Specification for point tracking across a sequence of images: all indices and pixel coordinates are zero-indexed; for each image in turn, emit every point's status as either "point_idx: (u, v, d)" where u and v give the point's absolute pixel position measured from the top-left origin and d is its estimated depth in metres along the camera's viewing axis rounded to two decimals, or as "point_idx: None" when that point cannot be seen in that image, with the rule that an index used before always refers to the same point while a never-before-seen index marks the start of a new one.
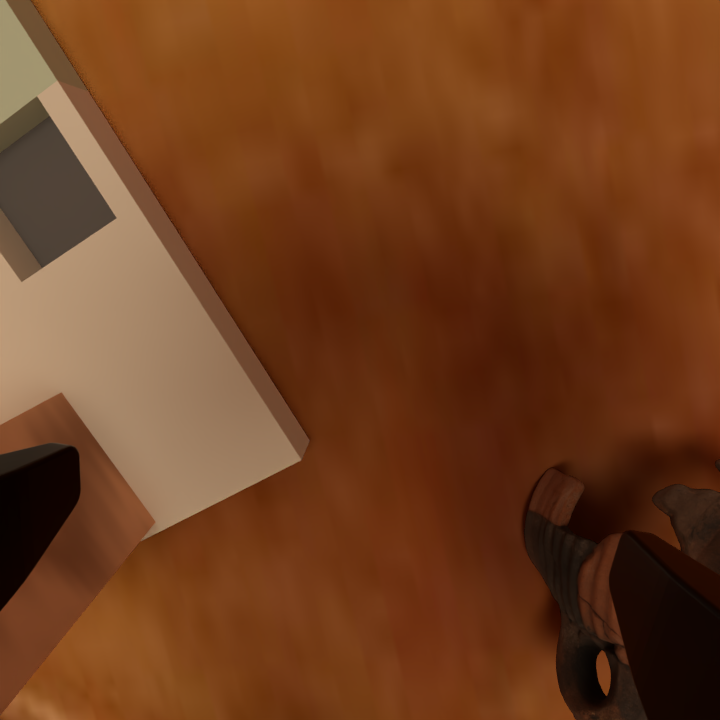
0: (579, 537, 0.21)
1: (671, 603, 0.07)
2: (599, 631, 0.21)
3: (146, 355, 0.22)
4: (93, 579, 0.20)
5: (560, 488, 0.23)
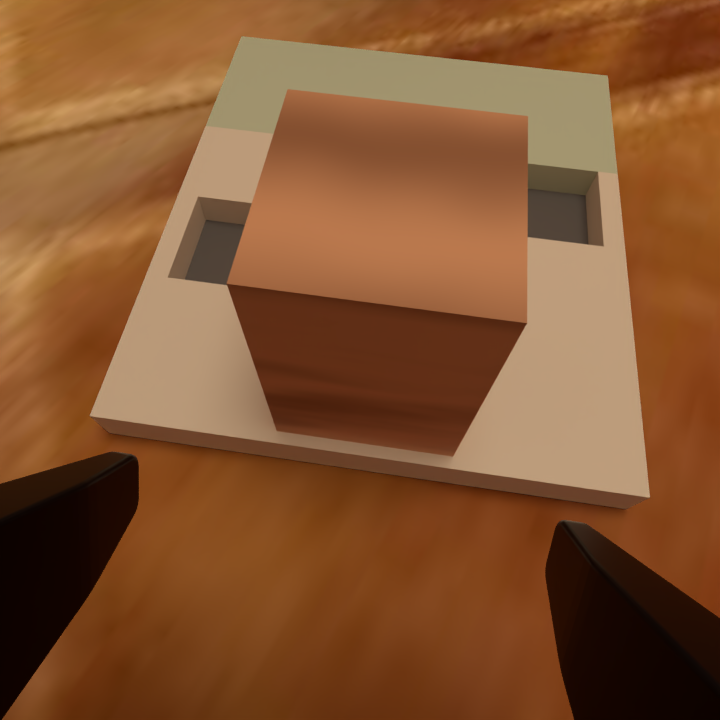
0: None
1: (591, 590, 0.07)
2: None
3: (559, 329, 0.24)
4: None
5: None
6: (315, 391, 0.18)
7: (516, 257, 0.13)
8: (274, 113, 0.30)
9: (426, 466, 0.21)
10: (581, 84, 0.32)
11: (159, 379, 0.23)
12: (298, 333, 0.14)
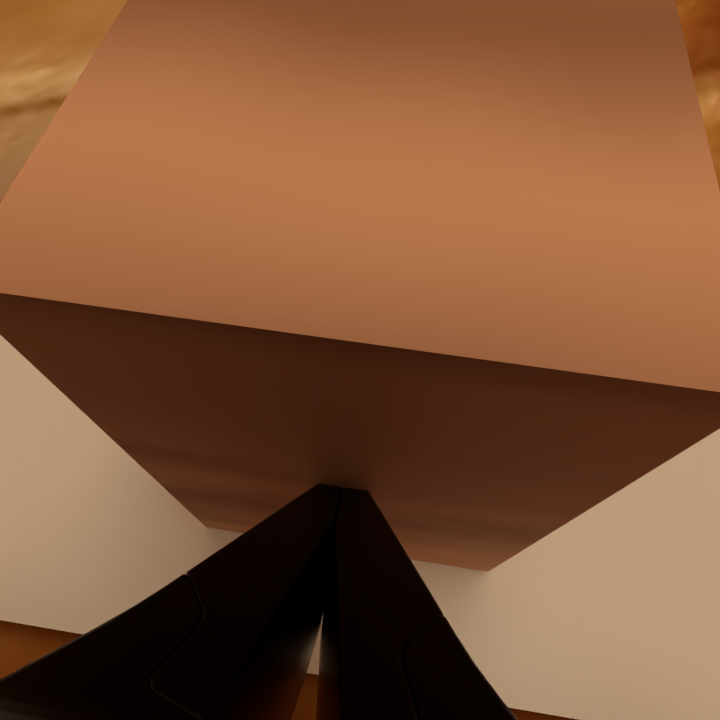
0: None
1: (331, 549, 0.07)
2: None
3: None
4: None
5: None
6: (248, 489, 0.10)
7: (700, 224, 0.05)
8: None
9: None
10: None
11: None
12: (178, 400, 0.06)
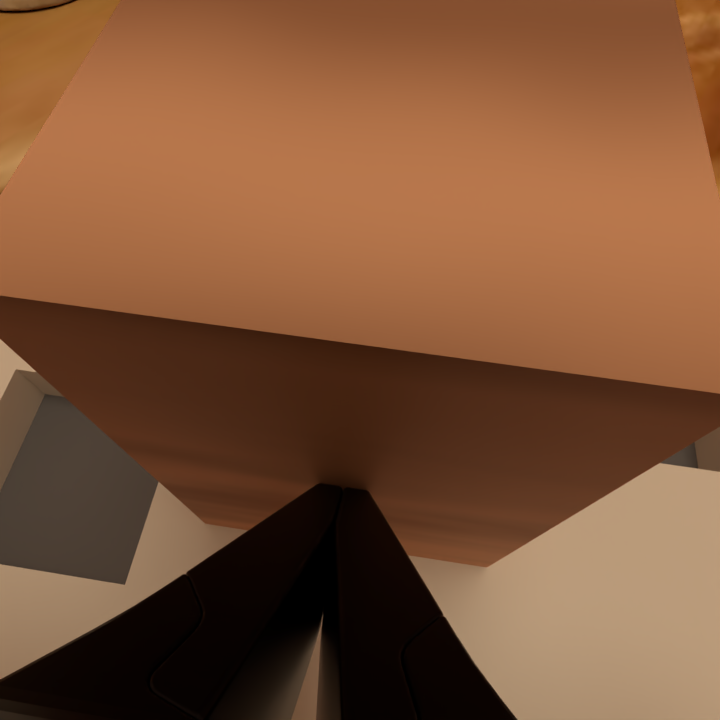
0: None
1: (331, 549, 0.07)
2: None
3: (676, 676, 0.12)
4: None
5: None
6: (247, 487, 0.10)
7: (697, 223, 0.05)
8: None
9: None
10: None
11: None
12: (174, 399, 0.06)
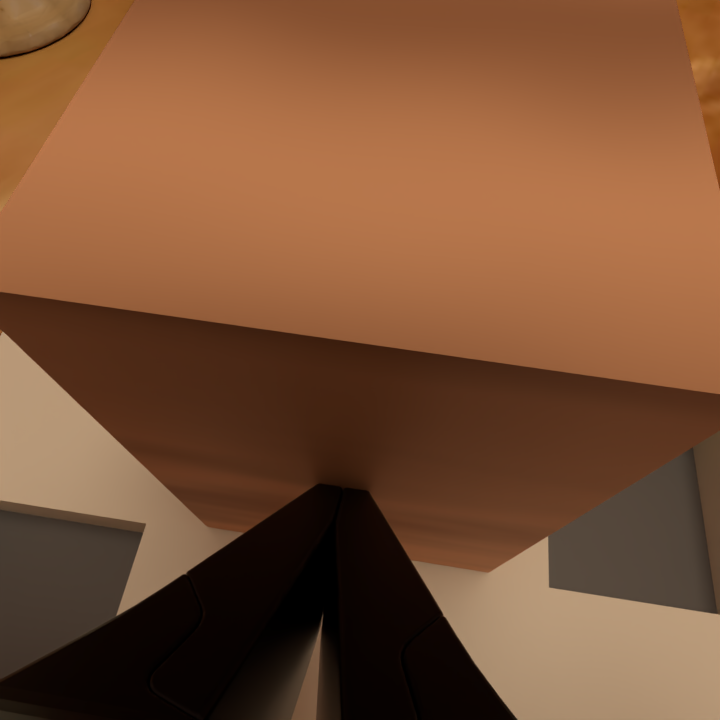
0: None
1: (331, 550, 0.07)
2: None
3: None
4: None
5: None
6: (250, 489, 0.10)
7: (700, 227, 0.05)
8: None
9: None
10: None
11: None
12: (181, 400, 0.06)
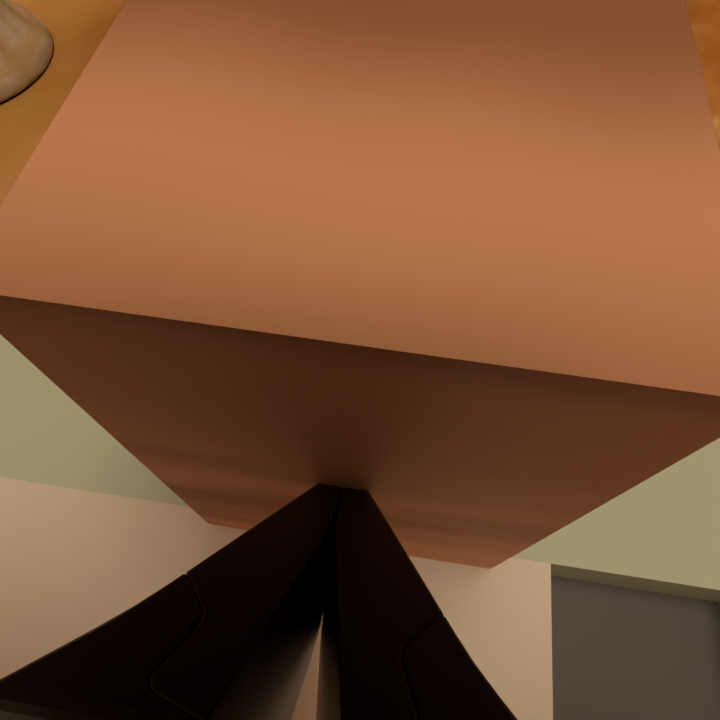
0: None
1: (331, 549, 0.07)
2: None
3: None
4: None
5: None
6: (252, 487, 0.10)
7: (709, 225, 0.05)
8: (78, 428, 0.15)
9: None
10: None
11: None
12: (180, 401, 0.06)
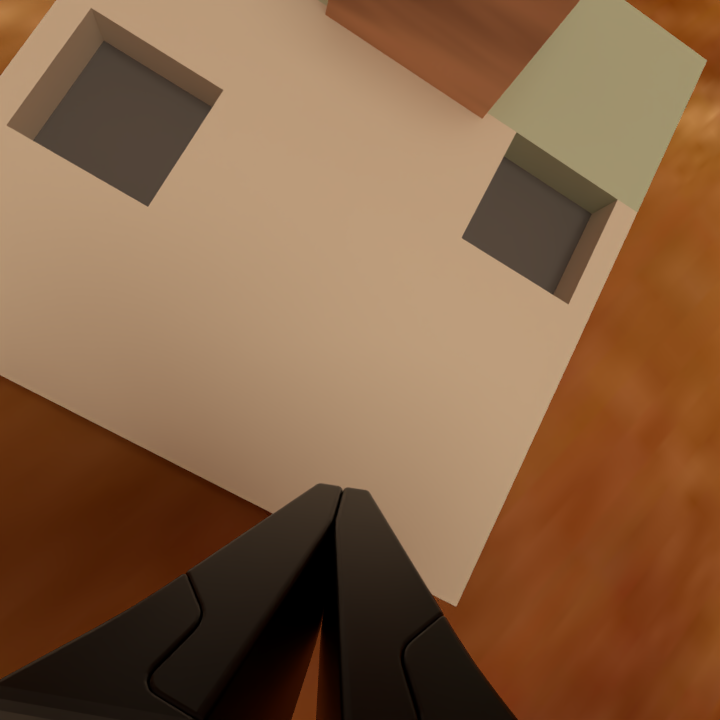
0: None
1: (331, 549, 0.07)
2: None
3: (465, 389, 0.20)
4: None
5: None
6: None
7: None
8: None
9: (243, 497, 0.18)
10: (669, 58, 0.23)
11: None
12: None
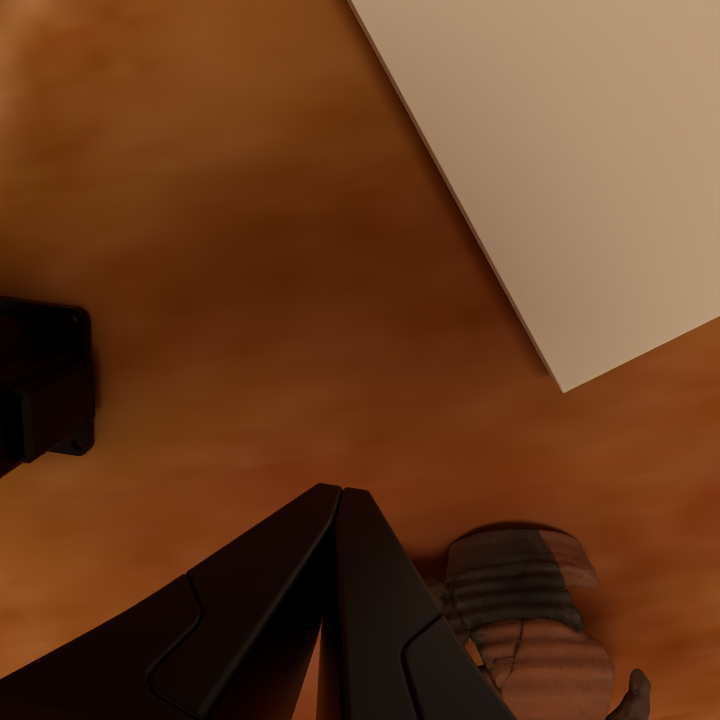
0: (576, 609, 0.20)
1: (331, 549, 0.07)
2: (494, 652, 0.19)
3: None
4: None
5: (586, 566, 0.22)
6: None
7: None
8: None
9: (447, 178, 0.18)
10: None
11: None
12: None
